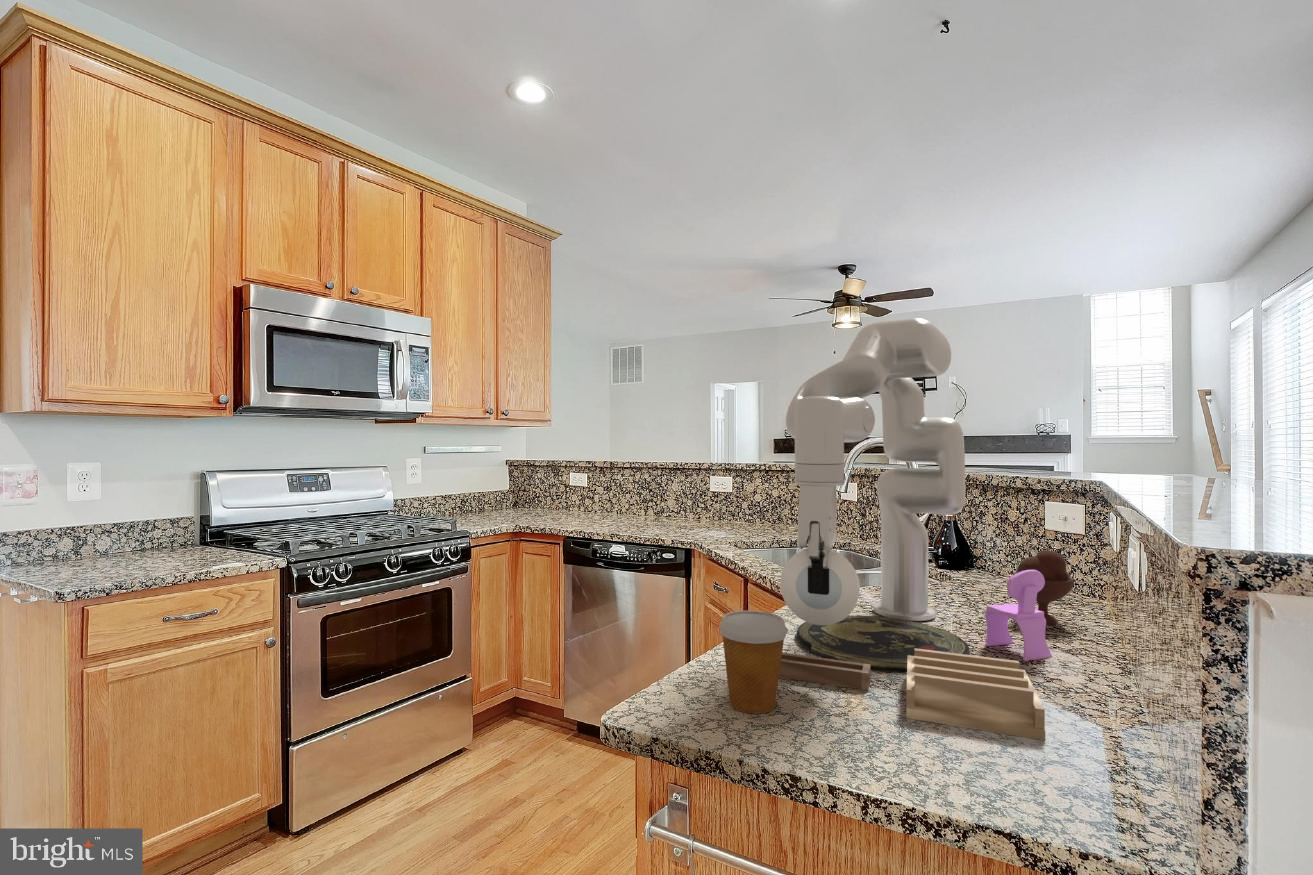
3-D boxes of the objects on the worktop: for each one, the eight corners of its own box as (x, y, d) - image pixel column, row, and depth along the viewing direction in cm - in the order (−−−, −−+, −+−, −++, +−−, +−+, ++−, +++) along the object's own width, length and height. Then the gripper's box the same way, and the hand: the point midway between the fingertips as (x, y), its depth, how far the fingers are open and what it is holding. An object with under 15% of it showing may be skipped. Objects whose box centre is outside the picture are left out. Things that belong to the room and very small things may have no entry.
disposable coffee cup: (800, 704, 87) (800, 618, 88) (760, 726, 81) (761, 633, 81) (745, 685, 94) (745, 606, 94) (704, 704, 87) (705, 618, 88)
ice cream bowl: (1060, 615, 135) (1060, 546, 135) (1083, 630, 124) (1083, 555, 124) (1006, 612, 138) (1006, 544, 138) (1024, 626, 127) (1024, 552, 127)
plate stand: (771, 666, 103) (771, 651, 103) (870, 680, 97) (870, 664, 97) (765, 674, 99) (766, 659, 99) (868, 690, 93) (868, 673, 93)
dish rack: (907, 677, 98) (907, 644, 98) (1024, 693, 92) (1024, 658, 92) (906, 717, 83) (906, 678, 84) (1045, 740, 77) (1045, 698, 77)
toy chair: (1013, 641, 117) (1013, 561, 117) (1056, 656, 109) (1057, 570, 109) (978, 645, 115) (979, 563, 115) (1020, 661, 106) (1020, 573, 106)
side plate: (777, 612, 102) (787, 539, 101) (853, 630, 97) (864, 555, 97) (775, 615, 100) (785, 541, 99) (852, 634, 96) (864, 557, 95)
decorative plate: (1010, 651, 107) (868, 672, 96) (1010, 662, 106) (868, 685, 96) (886, 609, 134) (765, 621, 124) (886, 618, 134) (765, 631, 123)
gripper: (803, 471, 107) (803, 579, 107) (785, 477, 92) (786, 602, 92) (848, 472, 104) (849, 582, 104) (838, 479, 89) (838, 607, 90)
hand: (819, 591), depth 98 cm, fingers closed on side plate, 1 cm apart
